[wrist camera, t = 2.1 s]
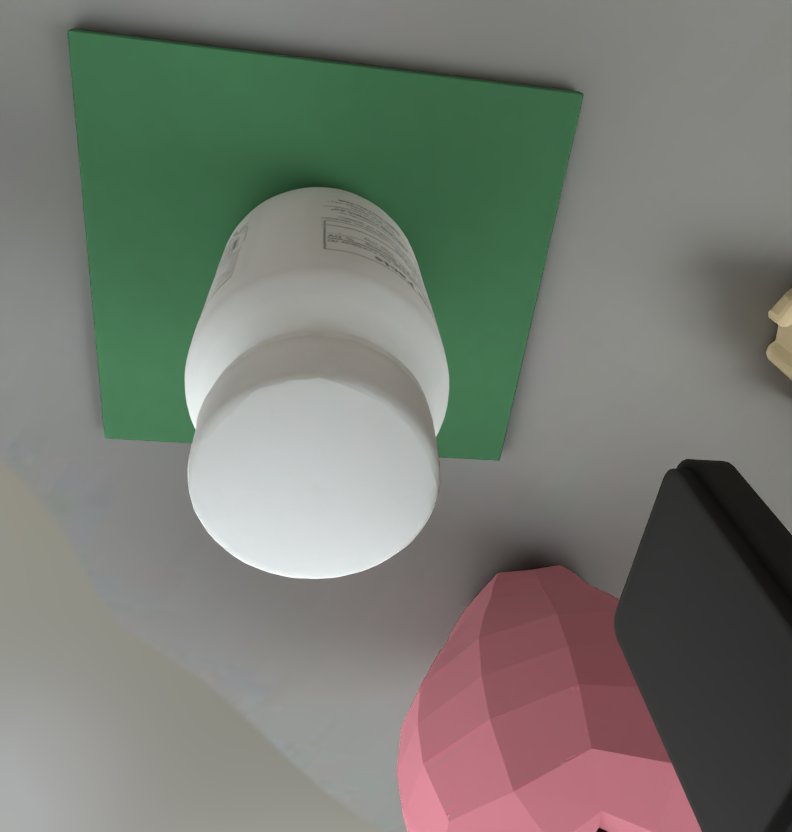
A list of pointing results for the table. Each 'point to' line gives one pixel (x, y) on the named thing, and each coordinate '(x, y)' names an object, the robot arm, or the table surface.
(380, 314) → the pill bottle
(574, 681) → the apple
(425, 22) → the table surface
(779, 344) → the decorative script
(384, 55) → the table surface
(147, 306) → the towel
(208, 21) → the table surface
